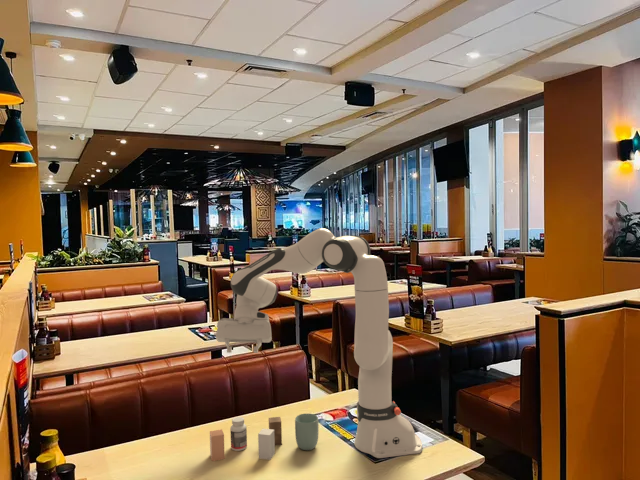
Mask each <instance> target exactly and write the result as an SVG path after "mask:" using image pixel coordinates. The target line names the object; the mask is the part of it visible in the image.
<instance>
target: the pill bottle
mask: <svg viewBox="0 0 640 480" xmlns="http://www.w3.org/2000/svg"><path fill="white" fill-rule="evenodd" d="M247 428H248V427H247V424H245V418H244V417H243V416H236V417H233V418H232V419H231V426H230V448H231V450H232V451H236V452H239V451H243V450H245V449H247V447H248V436H247V435H248V433H247V432H248V431H247Z"/></svg>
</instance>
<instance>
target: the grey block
mask: <svg viewBox="0 0 640 480" xmlns="http://www.w3.org/2000/svg"><path fill="white" fill-rule="evenodd" d="M257 440H258V442H257V444H258V459H262V460H270V461H271V460H272V459H273V457H274V456H275V454H276V453H275V452H276V451H275V450H276V449H275V448H276V447H275V446H276V445H275V440H274V430H273V429H269V428H262V429H261V430H260V431H259V433H258V435H257Z"/></svg>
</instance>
